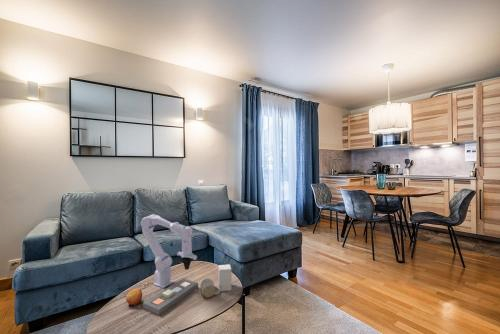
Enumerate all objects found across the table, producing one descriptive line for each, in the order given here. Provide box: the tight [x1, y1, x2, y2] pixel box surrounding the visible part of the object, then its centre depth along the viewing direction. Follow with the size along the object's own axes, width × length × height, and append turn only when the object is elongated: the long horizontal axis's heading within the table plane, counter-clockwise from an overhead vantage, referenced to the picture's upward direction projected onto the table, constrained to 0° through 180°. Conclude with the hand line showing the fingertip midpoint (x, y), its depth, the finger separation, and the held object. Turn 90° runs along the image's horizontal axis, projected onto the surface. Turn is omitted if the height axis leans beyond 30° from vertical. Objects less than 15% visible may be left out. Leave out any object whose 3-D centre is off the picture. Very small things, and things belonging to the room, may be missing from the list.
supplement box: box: [218, 263, 232, 292], centre depth 140 cm, size 7×7×13 cm
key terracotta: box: [152, 298, 165, 306], centre depth 121 cm, size 4×4×2 cm
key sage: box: [162, 289, 174, 299], centre depth 127 cm, size 4×4×2 cm
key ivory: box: [180, 282, 191, 287], centre depth 138 cm, size 4×4×2 cm
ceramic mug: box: [200, 277, 221, 299], centre depth 133 cm, size 11×8×8 cm
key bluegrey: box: [172, 287, 183, 293], centre depth 132 cm, size 4×4×2 cm
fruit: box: [125, 287, 143, 306], centre depth 125 cm, size 8×8×8 cm
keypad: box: [142, 277, 199, 316], centre depth 130 cm, size 12×29×3 cm, turn 152°
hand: (187, 268), depth 142 cm, fingers closed
